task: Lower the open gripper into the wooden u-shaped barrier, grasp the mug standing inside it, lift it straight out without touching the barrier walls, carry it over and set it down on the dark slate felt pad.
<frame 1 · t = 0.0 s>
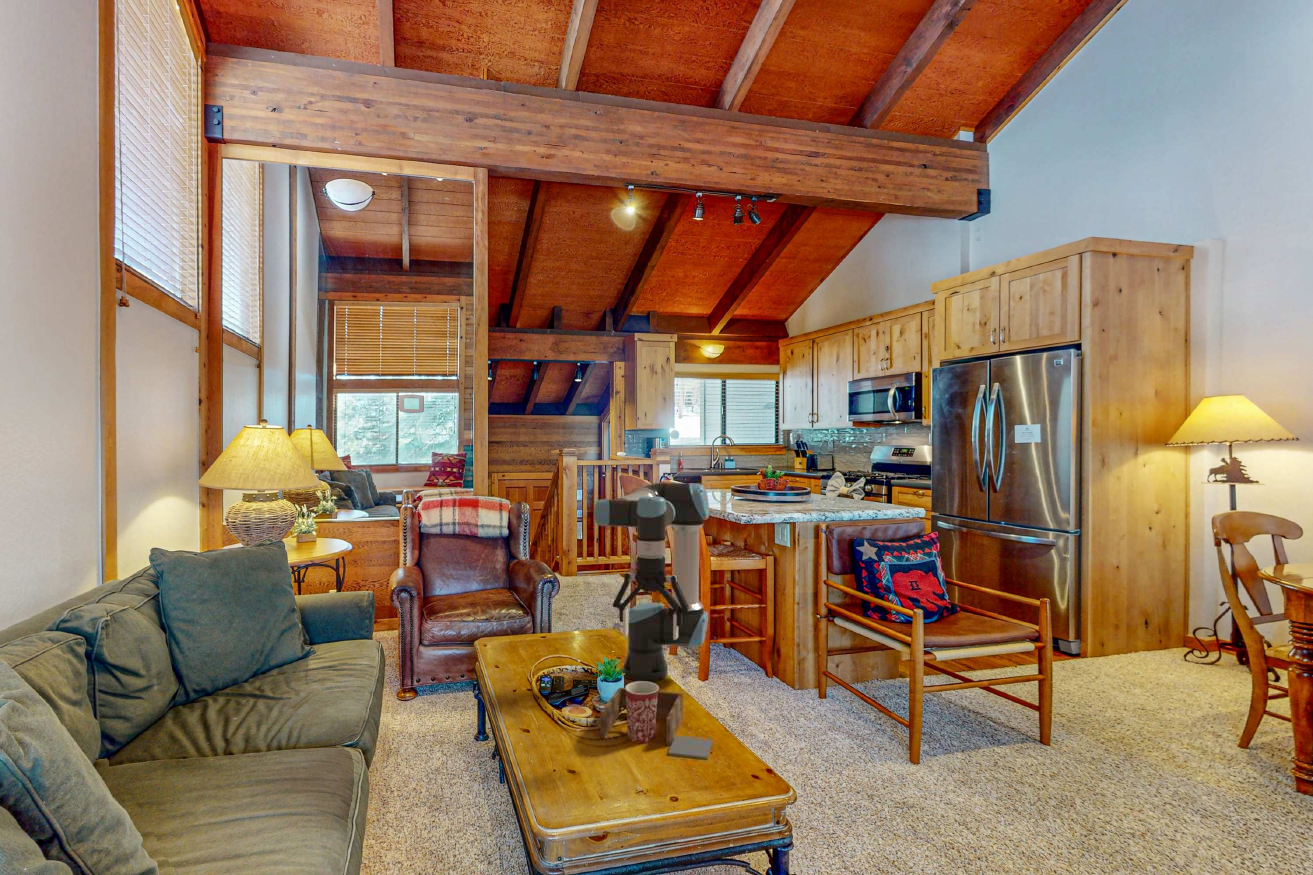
hand: (650, 636, 180), 28 cm above the table, fingers open, 13 cm apart
mug: (639, 735, 185), on the table
wooden u-shaped barrier: (643, 727, 189), on the table
pad: (690, 747, 177), on the table
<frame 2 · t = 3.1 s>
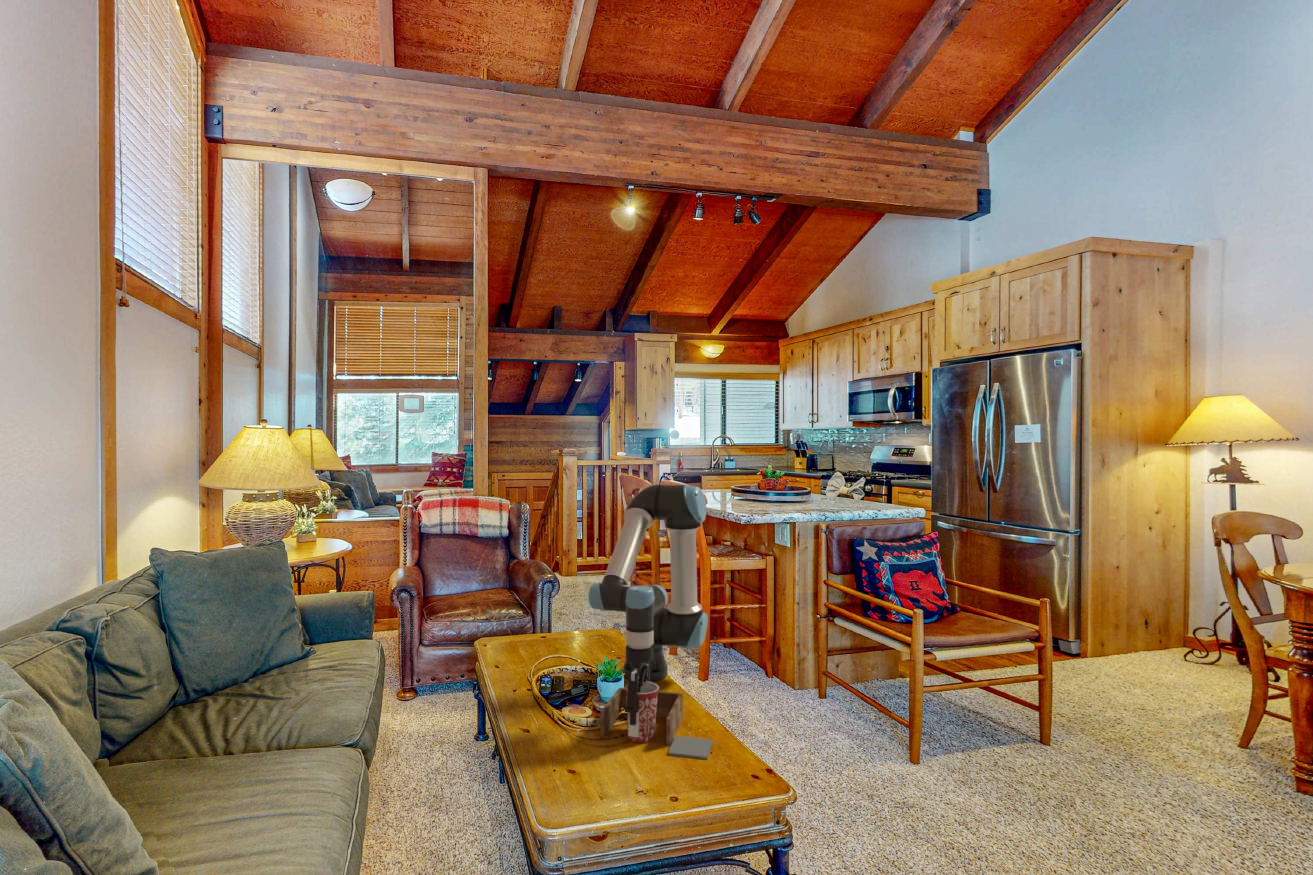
hand: (638, 727, 184), 2 cm above the table, fingers closed on mug, 10 cm apart
mug: (639, 735, 185), on the table, touching gripper
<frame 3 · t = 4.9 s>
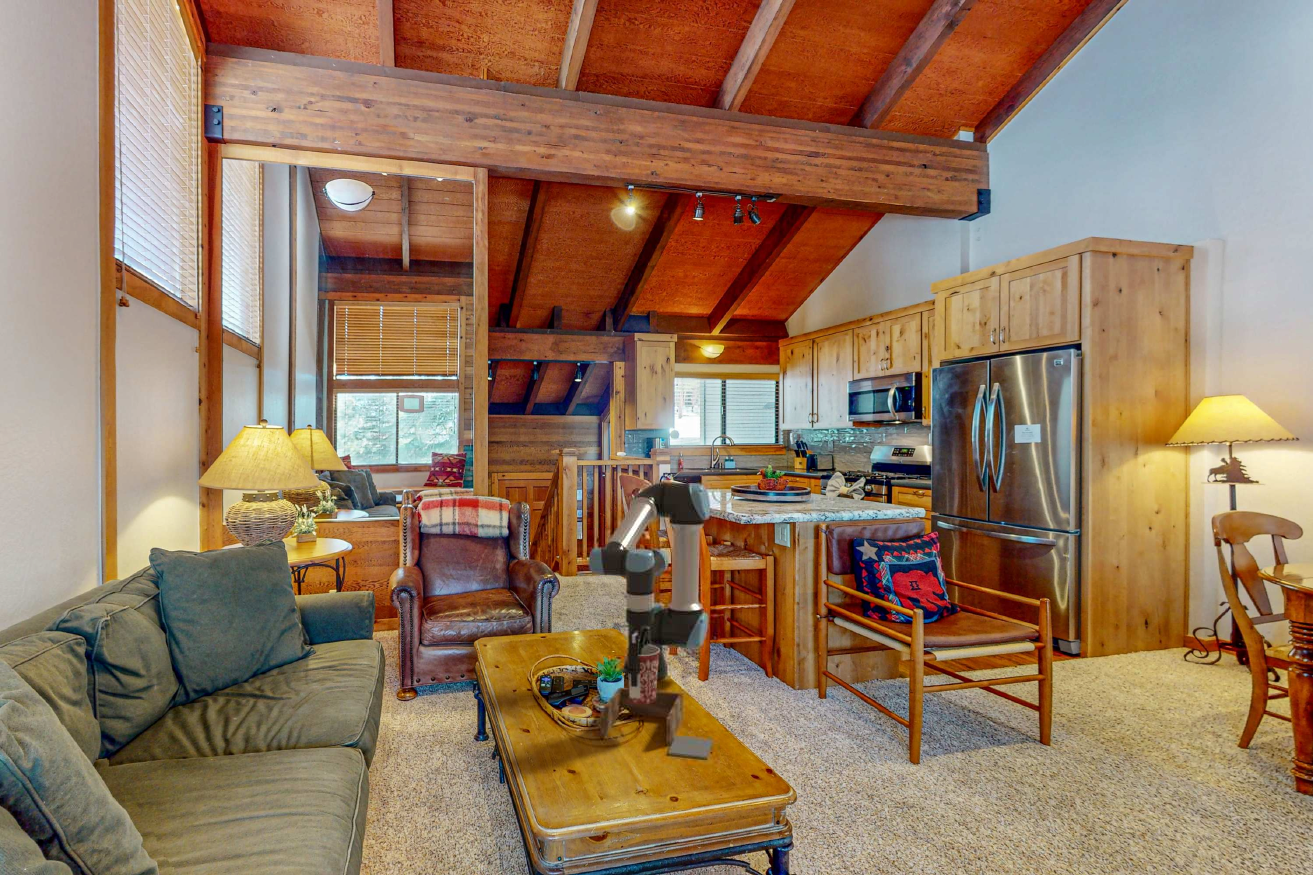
hand: (639, 689, 185), 12 cm above the table, fingers closed on mug, 10 cm apart
mug: (640, 697, 186), point 10 cm above the table, touching gripper
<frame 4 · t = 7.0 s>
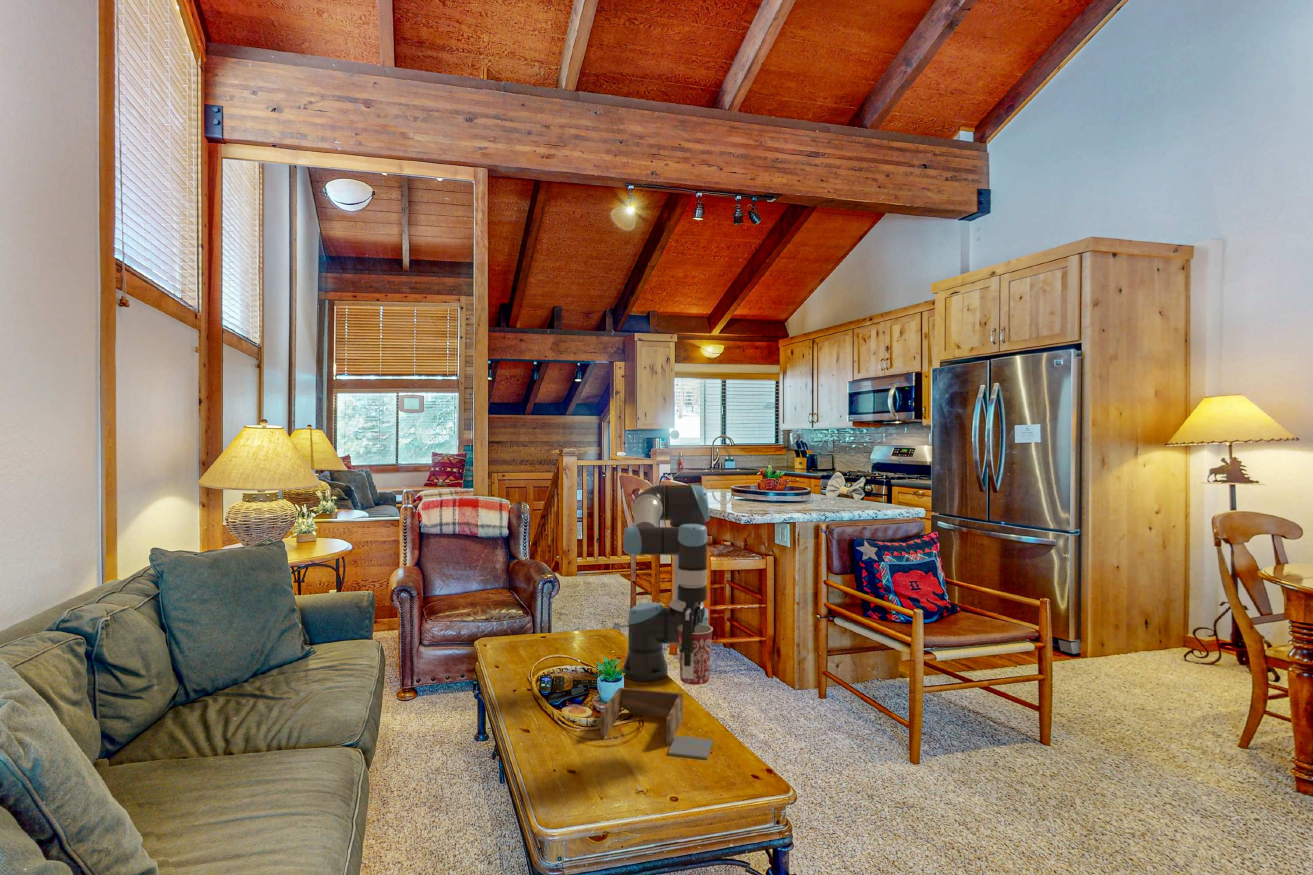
hand: (691, 670, 177), 20 cm above the table, fingers closed on mug, 10 cm apart
mug: (691, 678, 178), point 18 cm above the table, touching gripper
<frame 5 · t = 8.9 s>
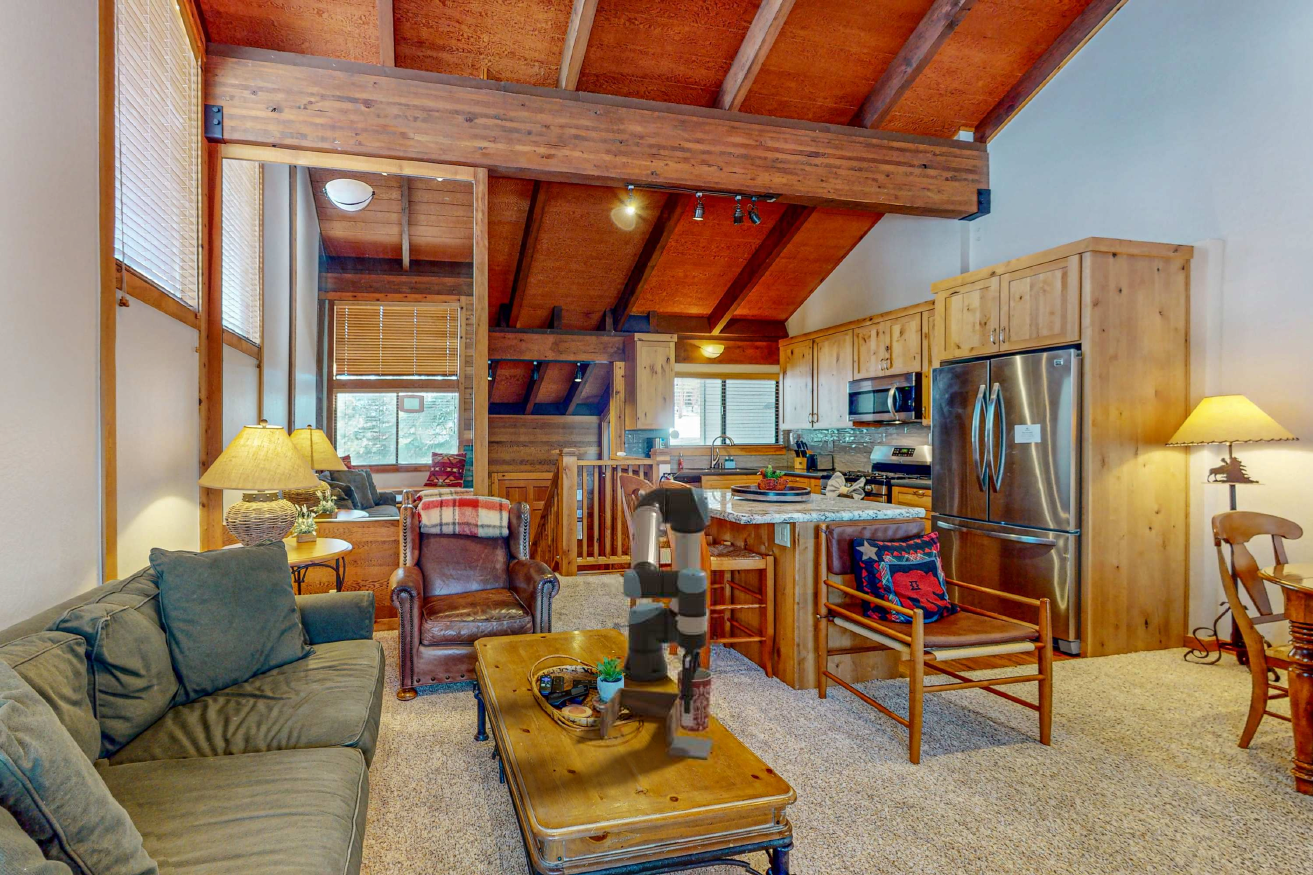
hand: (691, 716, 177), 8 cm above the table, fingers closed on mug, 10 cm apart
mug: (691, 724, 178), point 6 cm above the table, touching gripper
when the fingers open (4 cm above the table, at t = 10.8 s): mug drops 1 cm, resting on pad.
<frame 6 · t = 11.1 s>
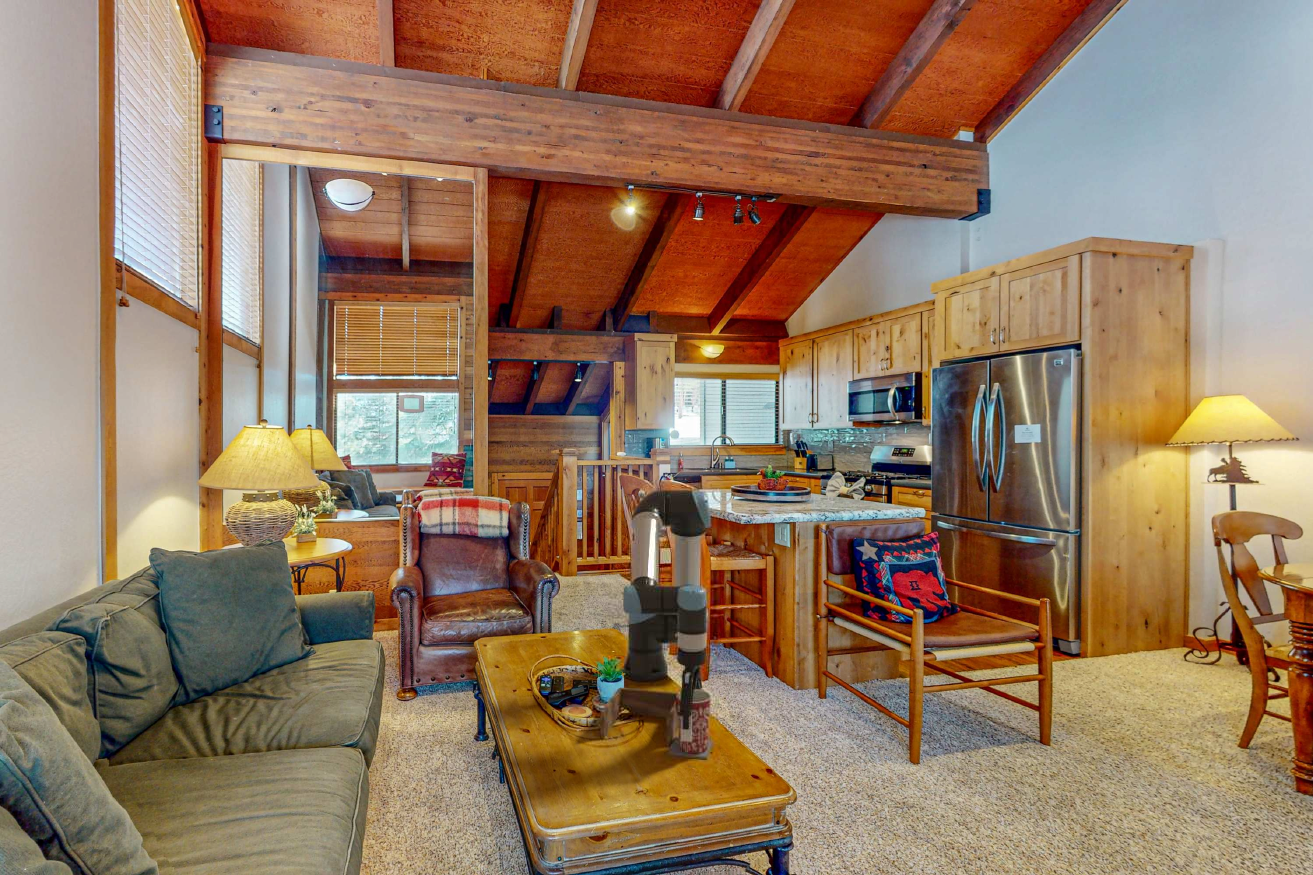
hand: (691, 729, 177), 5 cm above the table, fingers open, 13 cm apart
mug: (690, 745, 178), resting on pad
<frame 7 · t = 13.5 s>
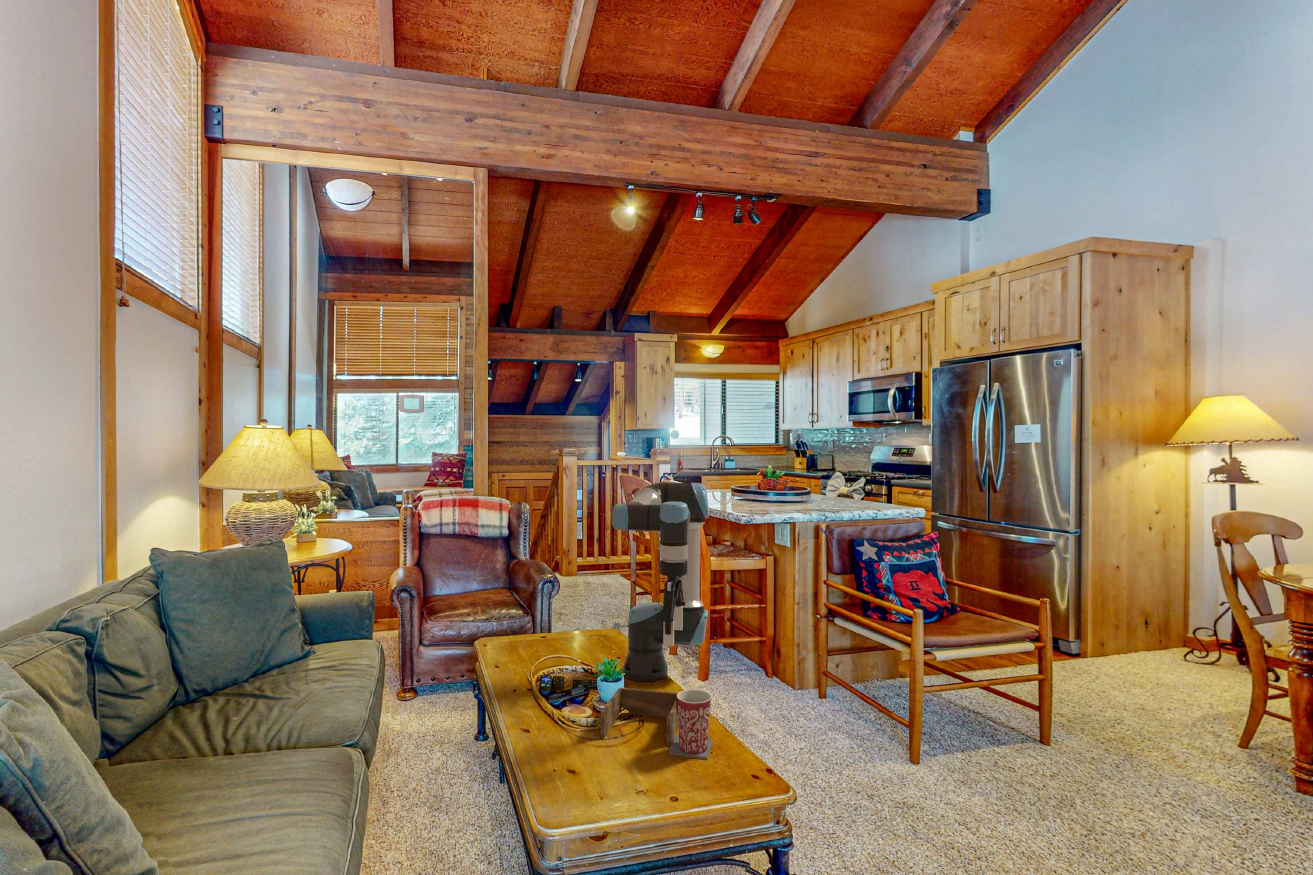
hand: (673, 637, 185), 26 cm above the table, fingers open, 13 cm apart
nothing on the table moved.
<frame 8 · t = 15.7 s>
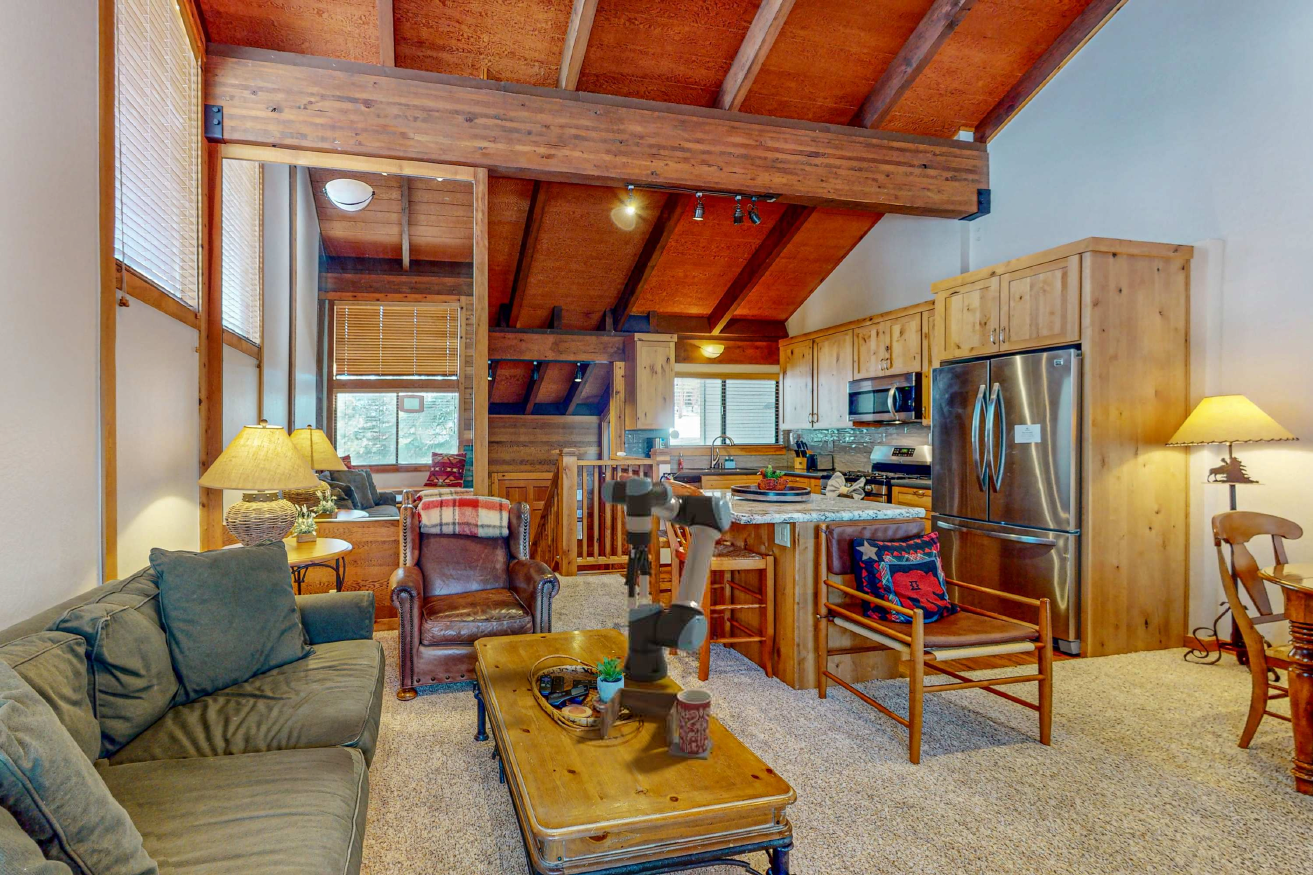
hand: (638, 602, 201), 32 cm above the table, fingers open, 13 cm apart
nothing on the table moved.
at the end: mug inside the target area on the pad (0.4 cm from its centre), point 0.4 cm above the pad's base; mug tilted 0°; mug touching pad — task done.
